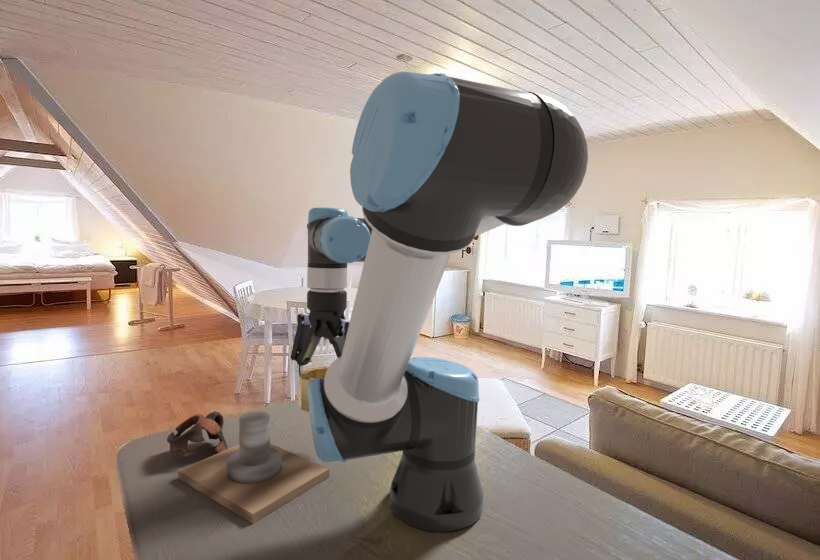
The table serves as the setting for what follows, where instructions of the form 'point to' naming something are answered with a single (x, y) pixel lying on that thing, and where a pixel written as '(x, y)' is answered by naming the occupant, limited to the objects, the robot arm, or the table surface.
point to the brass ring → (304, 380)
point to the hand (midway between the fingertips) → (325, 402)
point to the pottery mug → (198, 432)
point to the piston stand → (253, 472)
